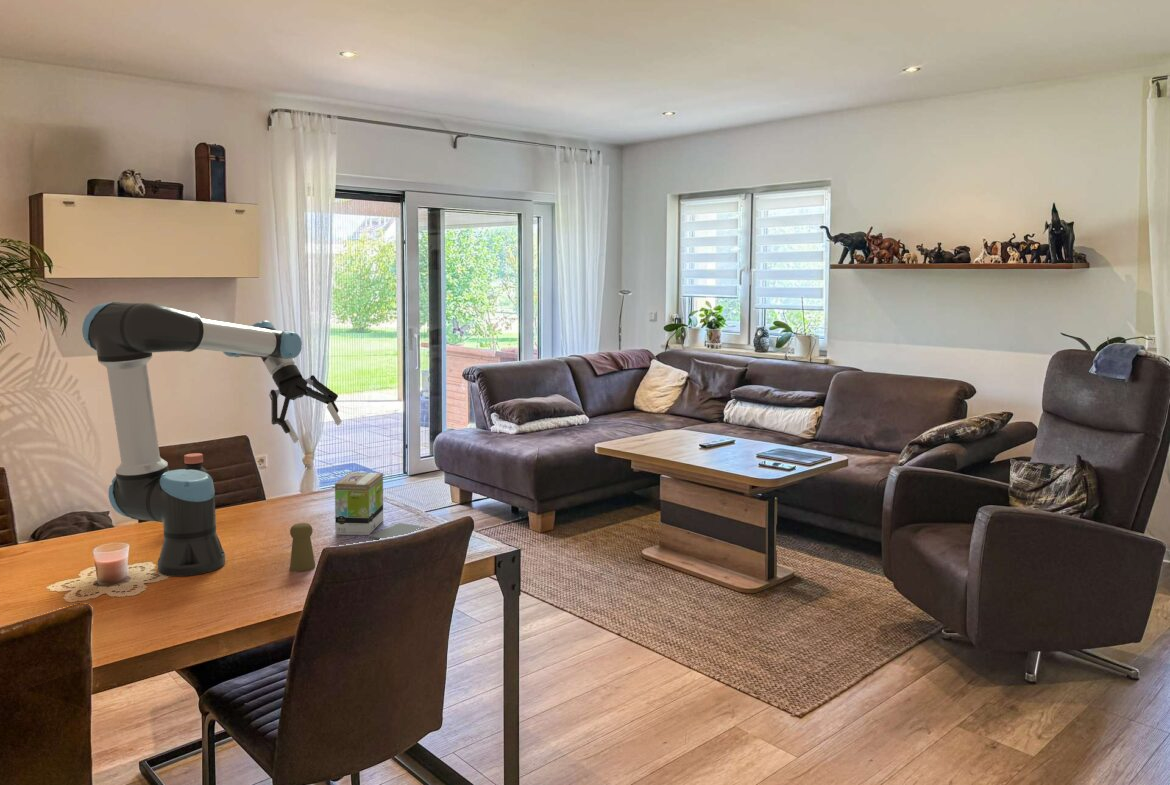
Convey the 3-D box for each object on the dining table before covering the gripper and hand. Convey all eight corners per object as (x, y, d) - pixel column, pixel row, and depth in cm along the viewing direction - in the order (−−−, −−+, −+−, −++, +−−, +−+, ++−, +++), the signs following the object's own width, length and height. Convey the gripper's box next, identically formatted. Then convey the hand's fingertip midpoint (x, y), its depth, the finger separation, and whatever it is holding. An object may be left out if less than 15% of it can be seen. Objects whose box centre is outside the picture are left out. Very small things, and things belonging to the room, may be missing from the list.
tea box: (370, 536, 235) (369, 483, 233) (334, 535, 236) (332, 483, 234) (384, 520, 250) (383, 471, 248) (350, 520, 250) (349, 471, 248)
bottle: (214, 519, 250) (210, 452, 247) (201, 526, 243) (198, 457, 241) (192, 518, 251) (188, 452, 248) (179, 525, 244) (175, 456, 241)
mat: (398, 543, 229) (398, 540, 229) (368, 538, 233) (368, 536, 233) (428, 529, 242) (428, 527, 242) (399, 524, 246) (399, 522, 246)
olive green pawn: (288, 572, 206) (287, 528, 204) (290, 564, 211) (288, 521, 210) (315, 570, 207) (313, 526, 206) (316, 562, 213) (314, 519, 212)
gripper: (319, 362, 258) (353, 421, 255) (240, 390, 243) (275, 453, 240) (325, 350, 252) (359, 411, 249) (244, 378, 237) (280, 443, 234)
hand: (318, 432), depth 244 cm, fingers open, 13 cm apart
